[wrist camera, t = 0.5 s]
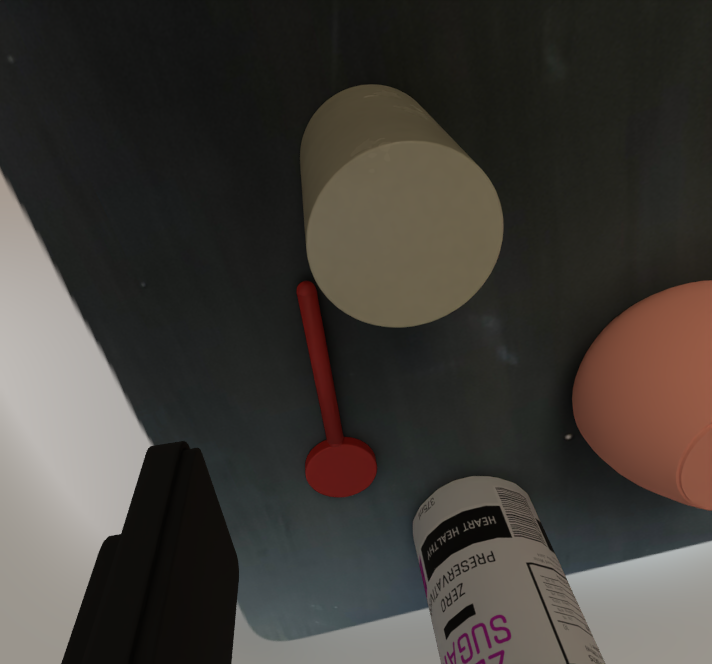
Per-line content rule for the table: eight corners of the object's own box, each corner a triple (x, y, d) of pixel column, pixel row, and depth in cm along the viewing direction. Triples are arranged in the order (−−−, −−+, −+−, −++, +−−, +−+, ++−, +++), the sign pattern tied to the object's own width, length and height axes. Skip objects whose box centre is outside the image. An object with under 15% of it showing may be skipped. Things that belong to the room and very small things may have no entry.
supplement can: (512, 552, 44) (606, 795, 31) (401, 553, 42) (450, 805, 30) (543, 469, 40) (665, 710, 27) (421, 468, 38) (487, 718, 26)
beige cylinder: (288, 96, 26) (288, 159, 18) (433, 73, 26) (504, 125, 18) (312, 233, 29) (322, 341, 21) (441, 212, 30) (504, 312, 21)
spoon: (261, 284, 31) (260, 293, 30) (346, 270, 31) (348, 279, 30) (311, 493, 39) (312, 505, 38) (379, 482, 39) (381, 493, 38)
